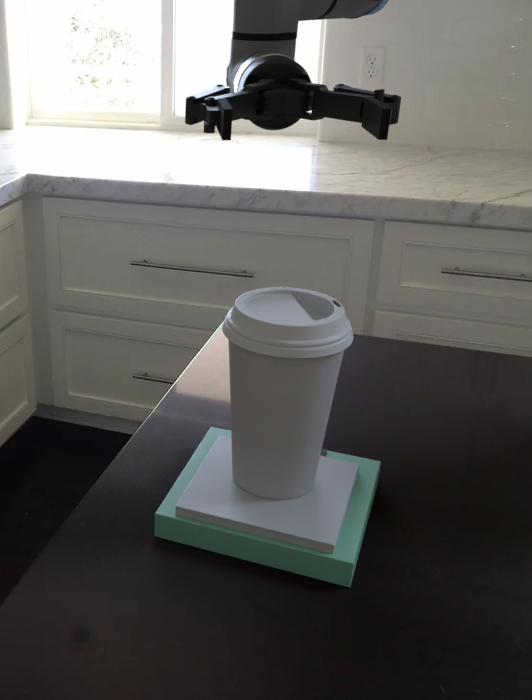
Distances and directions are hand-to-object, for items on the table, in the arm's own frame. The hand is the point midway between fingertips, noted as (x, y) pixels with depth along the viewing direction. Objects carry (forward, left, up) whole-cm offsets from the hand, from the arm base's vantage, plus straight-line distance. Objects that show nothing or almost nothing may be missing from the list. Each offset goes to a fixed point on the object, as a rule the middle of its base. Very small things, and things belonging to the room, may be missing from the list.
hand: (305, 124), depth 76 cm
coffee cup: (+11, +15, -25) cm, 31 cm away
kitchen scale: (+11, +15, -28) cm, 34 cm away
